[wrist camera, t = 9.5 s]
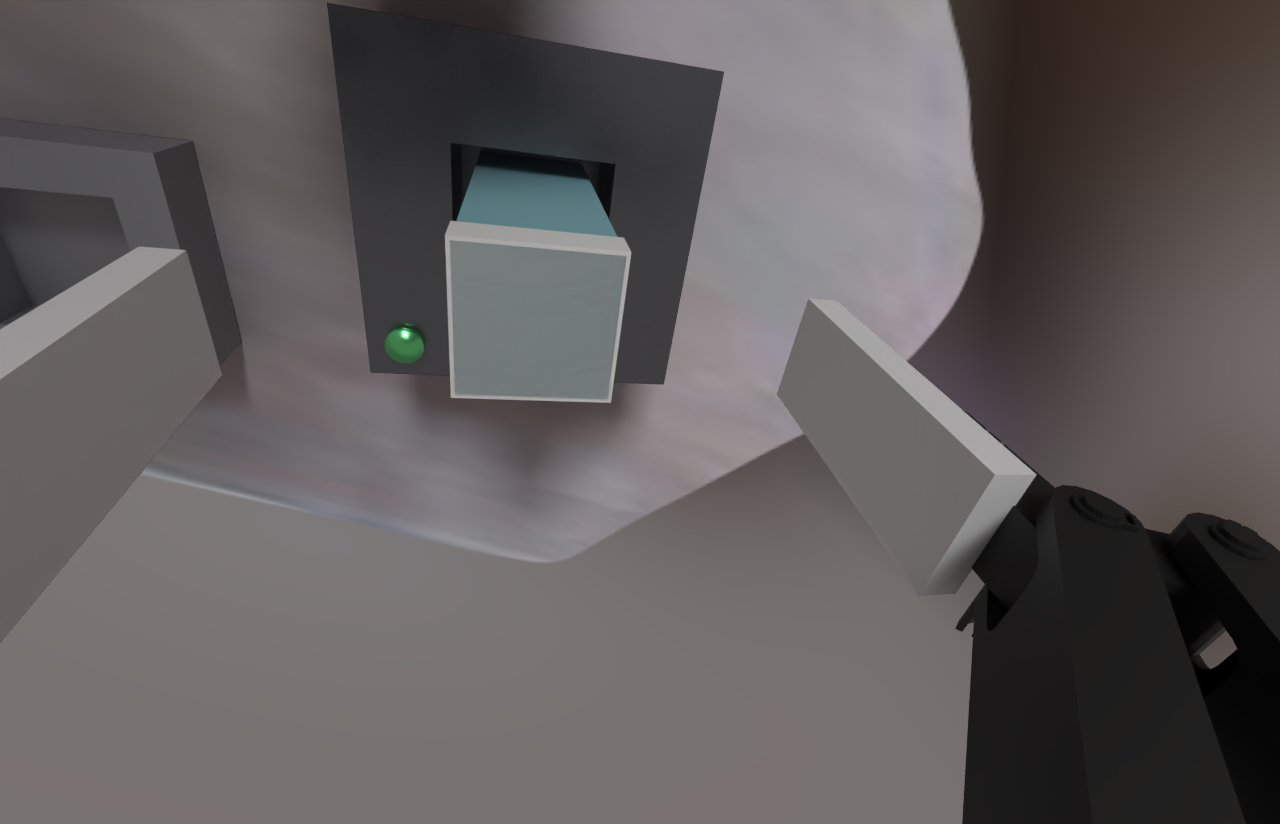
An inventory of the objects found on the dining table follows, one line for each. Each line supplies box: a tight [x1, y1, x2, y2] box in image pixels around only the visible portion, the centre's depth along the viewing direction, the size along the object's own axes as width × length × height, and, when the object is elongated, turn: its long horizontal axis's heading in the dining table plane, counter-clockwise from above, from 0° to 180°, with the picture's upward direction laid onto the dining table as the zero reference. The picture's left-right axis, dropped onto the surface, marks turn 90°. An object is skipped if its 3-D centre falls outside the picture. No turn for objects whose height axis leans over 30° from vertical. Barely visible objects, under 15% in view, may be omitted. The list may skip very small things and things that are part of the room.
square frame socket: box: [0, 118, 241, 365], centre depth 23 cm, size 9×9×3 cm
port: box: [327, 3, 724, 384], centre depth 23 cm, size 12×12×7 cm
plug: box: [445, 151, 631, 403], centre depth 19 cm, size 4×4×12 cm
